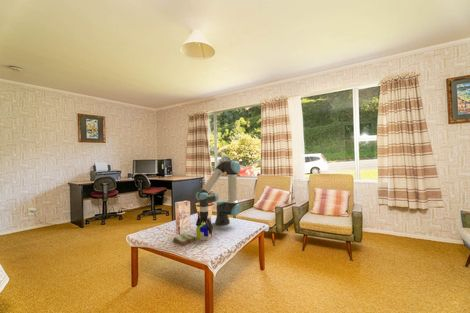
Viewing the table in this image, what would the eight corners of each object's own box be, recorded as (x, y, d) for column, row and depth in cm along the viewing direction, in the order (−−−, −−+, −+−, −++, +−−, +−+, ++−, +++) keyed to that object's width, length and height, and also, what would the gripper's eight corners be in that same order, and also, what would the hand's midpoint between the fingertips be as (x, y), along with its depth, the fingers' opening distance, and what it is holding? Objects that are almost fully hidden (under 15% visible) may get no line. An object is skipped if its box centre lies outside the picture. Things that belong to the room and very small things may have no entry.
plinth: (186, 236, 189) (186, 233, 189) (195, 240, 181) (195, 236, 180) (173, 241, 179) (173, 237, 179) (182, 245, 171) (182, 241, 171)
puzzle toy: (207, 240, 180) (207, 228, 180) (196, 239, 183) (196, 227, 182) (211, 236, 190) (211, 224, 189) (201, 235, 192) (201, 223, 192)
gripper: (191, 209, 191) (191, 233, 191) (210, 214, 175) (210, 240, 175) (198, 208, 197) (198, 231, 197) (217, 212, 181) (217, 237, 181)
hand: (204, 235), depth 186 cm, fingers open, 12 cm apart
